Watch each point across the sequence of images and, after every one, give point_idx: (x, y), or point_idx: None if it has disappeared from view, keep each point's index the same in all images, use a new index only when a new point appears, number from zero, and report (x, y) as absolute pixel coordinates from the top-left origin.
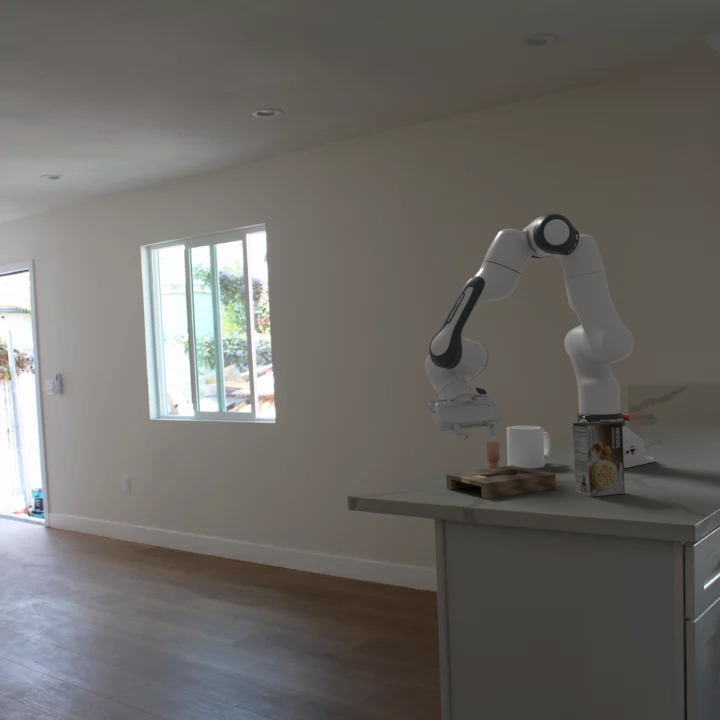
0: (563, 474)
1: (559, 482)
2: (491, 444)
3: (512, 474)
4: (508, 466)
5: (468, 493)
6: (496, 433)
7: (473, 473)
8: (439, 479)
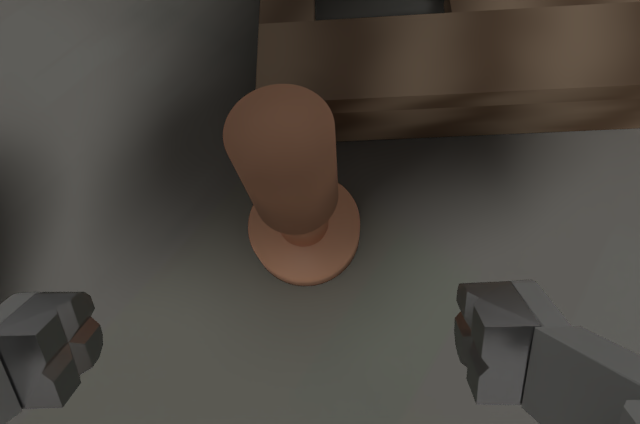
0: (4, 124)
1: (172, 7)
2: (321, 103)
3: None
4: None
5: None
6: (31, 295)
7: (570, 24)
8: None
